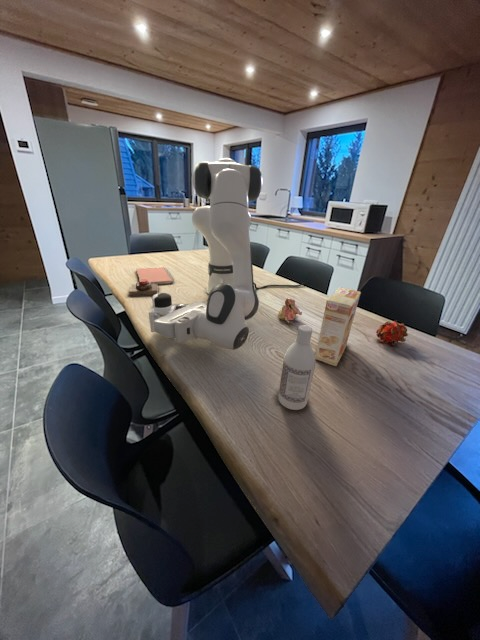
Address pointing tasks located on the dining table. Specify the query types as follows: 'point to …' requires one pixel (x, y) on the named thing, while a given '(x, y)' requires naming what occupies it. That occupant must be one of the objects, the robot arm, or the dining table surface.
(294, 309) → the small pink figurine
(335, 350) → the coffeecake box
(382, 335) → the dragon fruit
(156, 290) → the button box
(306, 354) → the bath foam
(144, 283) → the button
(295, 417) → the dining table surface
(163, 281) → the notebook
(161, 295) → the medicine bottle
